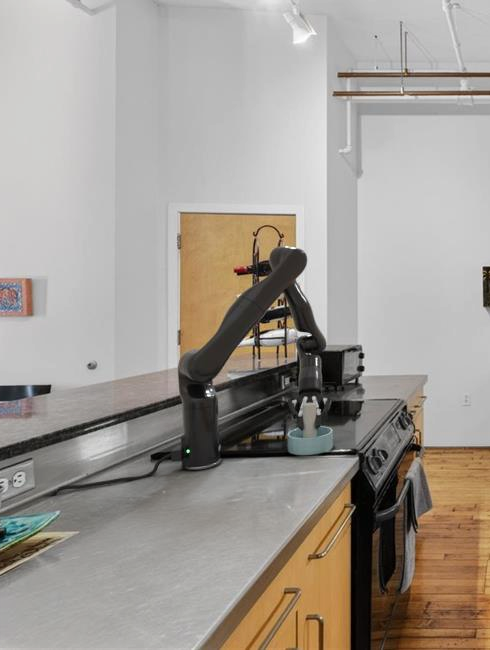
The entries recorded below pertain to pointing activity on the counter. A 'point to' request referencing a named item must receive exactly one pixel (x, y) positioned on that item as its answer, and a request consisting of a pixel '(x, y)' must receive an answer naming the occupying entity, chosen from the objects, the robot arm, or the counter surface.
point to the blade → (309, 420)
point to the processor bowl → (310, 442)
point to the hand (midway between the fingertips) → (309, 428)
